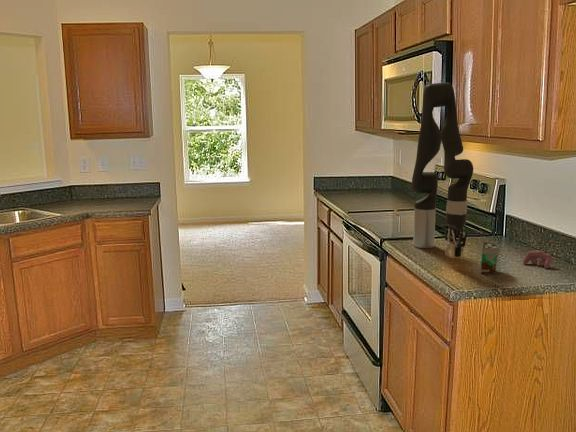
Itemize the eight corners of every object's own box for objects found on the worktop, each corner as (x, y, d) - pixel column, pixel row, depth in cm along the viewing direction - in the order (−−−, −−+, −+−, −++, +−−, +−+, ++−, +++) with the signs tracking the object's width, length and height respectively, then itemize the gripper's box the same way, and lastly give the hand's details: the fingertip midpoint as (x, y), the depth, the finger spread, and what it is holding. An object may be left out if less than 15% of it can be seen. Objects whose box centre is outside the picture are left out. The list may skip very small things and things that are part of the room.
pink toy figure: (550, 271, 216) (555, 254, 217) (546, 268, 212) (551, 251, 213) (525, 266, 223) (529, 249, 224) (521, 263, 219) (525, 246, 220)
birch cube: (445, 254, 218) (445, 242, 217) (456, 253, 219) (457, 241, 218) (451, 257, 214) (451, 245, 213) (463, 257, 214) (463, 244, 213)
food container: (498, 276, 204) (500, 249, 203) (480, 274, 207) (482, 248, 205) (499, 267, 216) (500, 242, 214) (482, 266, 218) (483, 241, 216)
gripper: (438, 208, 219) (436, 250, 222) (456, 215, 205) (454, 260, 209) (456, 207, 220) (454, 249, 224) (475, 214, 207) (472, 259, 210)
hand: (454, 254), depth 216 cm, fingers closed on birch cube, 5 cm apart
